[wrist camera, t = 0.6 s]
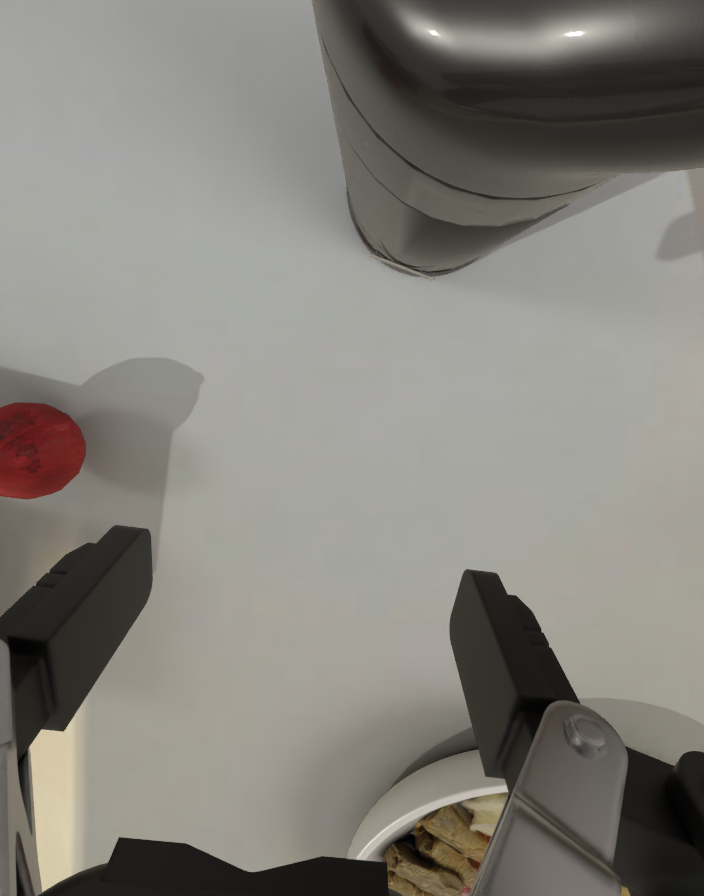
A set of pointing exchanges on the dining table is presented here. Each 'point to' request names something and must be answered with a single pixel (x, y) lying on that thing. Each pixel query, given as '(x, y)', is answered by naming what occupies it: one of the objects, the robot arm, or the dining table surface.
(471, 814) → the bowl
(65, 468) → the onion
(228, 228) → the dining table surface
